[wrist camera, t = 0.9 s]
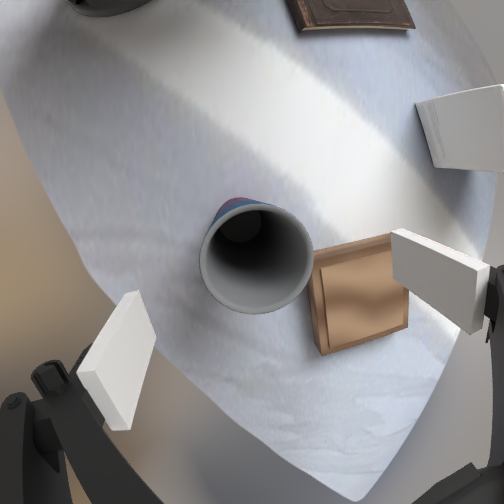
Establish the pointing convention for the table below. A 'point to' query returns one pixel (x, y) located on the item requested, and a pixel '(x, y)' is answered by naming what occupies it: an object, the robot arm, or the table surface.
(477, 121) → the supplement box
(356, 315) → the pedestal
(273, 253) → the cup
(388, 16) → the hardcover book
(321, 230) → the table surface
